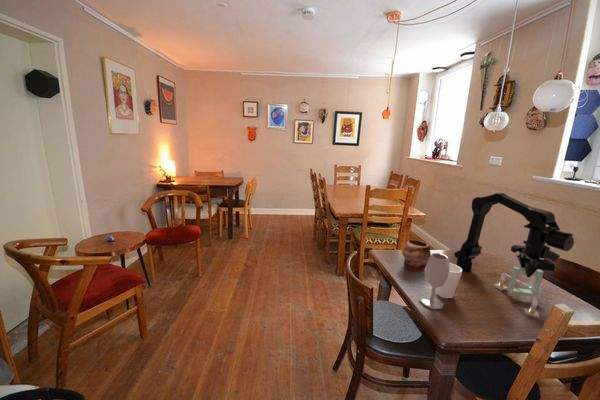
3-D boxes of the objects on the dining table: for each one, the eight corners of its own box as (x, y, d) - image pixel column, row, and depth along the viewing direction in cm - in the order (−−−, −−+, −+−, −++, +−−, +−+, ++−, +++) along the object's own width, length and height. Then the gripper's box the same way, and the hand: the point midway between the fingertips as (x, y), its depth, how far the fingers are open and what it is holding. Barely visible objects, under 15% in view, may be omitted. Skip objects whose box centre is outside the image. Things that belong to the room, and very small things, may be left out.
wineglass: (433, 312, 102) (442, 262, 97) (414, 300, 109) (422, 253, 105) (447, 306, 106) (457, 258, 101) (428, 295, 113) (436, 250, 109)
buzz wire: (528, 318, 101) (540, 298, 99) (490, 284, 125) (499, 267, 123) (542, 322, 101) (554, 303, 99) (502, 287, 125) (511, 271, 122)
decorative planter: (415, 258, 150) (418, 235, 146) (436, 267, 140) (440, 242, 137) (394, 267, 138) (397, 242, 135) (415, 277, 128) (420, 250, 125)
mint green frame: (510, 293, 112) (516, 269, 110) (506, 289, 115) (512, 266, 113) (537, 297, 111) (544, 272, 108) (532, 293, 113) (539, 269, 111)
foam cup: (454, 291, 118) (459, 264, 115) (459, 302, 109) (464, 274, 106) (431, 286, 120) (435, 260, 118) (433, 297, 112) (438, 269, 109)
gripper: (577, 253, 97) (565, 290, 101) (542, 235, 115) (533, 268, 118) (543, 249, 99) (532, 286, 103) (514, 232, 117) (506, 264, 120)
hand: (526, 275), depth 111 cm, fingers closed on mint green frame, 2 cm apart
